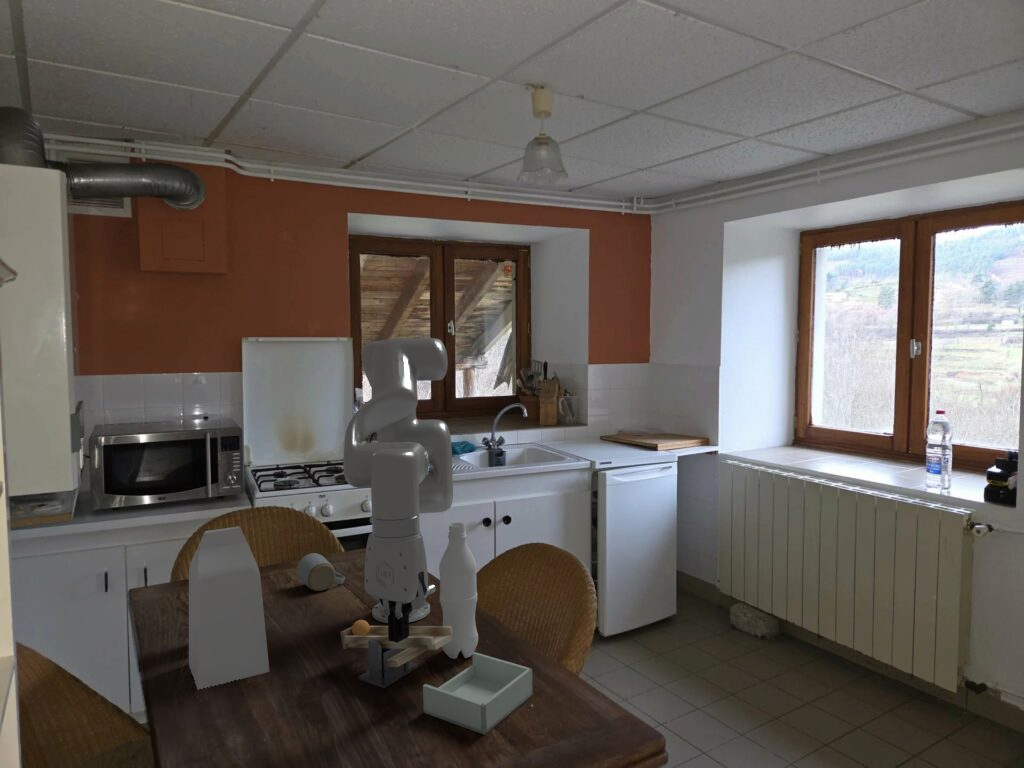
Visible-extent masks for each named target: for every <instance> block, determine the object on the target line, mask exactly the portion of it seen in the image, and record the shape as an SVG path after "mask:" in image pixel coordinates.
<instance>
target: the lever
mask: <svg viewBox="0 0 1024 768" xmlns="http://www.w3.org/2000/svg"><path fill="white" fill-rule="evenodd" d="M352 627H353V625H352V626H351V627H348V628H346V629H344V630H342V631H340V637H341V644H342V649H344V650H345V649H349V648H361V649H362V648H363V649H364V648H366V649H369V648H368V641H369V640H371V639H372V640H375V641H379V642H381V648H389V649H405V650H404V651H402V652H400V653H398V654H397V655H395V656H393V657H391V658H389V659H388V660H386V662H387V667H399V666H401V665H402V664H404V663H406V662H408V661H411V660H412V659H414V658H417V657H418V656H419V655H421V654H423V653H424V652H426V651H428V650H429V651H431V650H432V651H436V650H438V649H439V648H442V646H443V645H445V644H447V643H448V642H450V641H452V637H451V634H453V629H452V626H443V625H442V626H441V625H409V637H408V638H406V639H404V640H402V641H400V642H398V643H395V642H394V641H389V640H388V625H369V627H370V630H369V633H368V634H367V636H356V635H353V633H352Z"/></svg>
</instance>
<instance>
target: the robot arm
mask: <svg viewBox="0 0 1024 768" xmlns="http://www.w3.org/2000/svg"><path fill="white" fill-rule="evenodd" d="M361 362H362V367H363V370H364V374H365V377H366V379H367V381H368V384H369V385H370V388H371V398H370V399H369V400H368V401H366V402H365V403H364V404H363V405H361V407H360V408H359V409H358V410H357V411H356V412H355V413H354V415H353V417H351V419H350V420H349V423H348V425H347V426H346V431H345V434H344V443H343V444H344V445H343V461H342V466H343V467H342V468H343V475H344V478H345V480H346V483H348V485H350V486H352V487H353V488H358V489H367V488H368V489H369V488H370V497H371V499H370V500H371V503H370V504H371V516H370V517H369V523H370V524H371V533H369V534H368V538H367V542H366V547H365V548H366V550H365V556H364V557H365V559H364V589H365V590H364V591H365V592H366V594H368V595H370V597H371V598H372V599H375V600H376V601H378V603H377V604H375V605H374V607H372V610H371V611H372V612H371V614H372V615H371V616H372V617H373V619H374V620H375V621H377V622H380V623H384V624H387V626H388V640H389V641H394V642H395V643H398V642H400V641H402V640H404V639H406V638H408V637H409V626H410V623H413V622H417V621H420V620H422V619H425V618H426V617H427V616H428V615H429V614H430V612H431V605H430V603H429V602H428V601H426V598H427V597H428V596H430V595H431V594H434V593H435V592H436V591H437V589H436V586H435V585H434V584H431V583H430V584H429V575H428V574H429V573H428V572H429V571H428V561H427V554H426V553H427V552H426V547H425V542H424V538H423V535H422V533H421V529H420V525H421V523H420V514H436V513H443V512H446V511H448V510H449V509H451V507H452V505H453V500H454V481H453V480H454V479H453V476H454V475H453V453H452V452H453V450H452V439H451V438H452V436H451V431H450V429H449V426H448V425H447V423H446V422H445V421H443V420H441V419H418V418H417V407H418V404H419V403H418V402H419V401H418V397H419V396H418V381H419V382H420V381H421V382H422V381H423V382H424V381H442V380H443V379H445V376H446V374H447V371H448V362H449V361H448V353H447V349H446V347H445V344H444V343H443V341H442V340H441V339H439V338H435V337H413V338H412V337H410V338H409V337H405V338H403V337H402V338H397V337H396V338H389V339H383V340H376V341H372V342H368V343H367V344H365V345H364V346H363V349H362V351H361ZM374 433H377V434H376V436H377V439H376V440H377V441H376V442H367V443H366V442H365V443H364V441H365V440H366V438H367V437H369V436H371V435H372V434H374ZM430 466H431V467H432V468H430Z"/></svg>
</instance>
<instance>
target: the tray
mask: <svg viewBox="0 0 1024 768" xmlns="http://www.w3.org/2000/svg"><path fill="white" fill-rule="evenodd" d="M533 695H534V692H533V668H532V667H528V666H523V665H522V664H516V663H514V662H510V661H507V660H503V659H499V658H496V657H492V656H490V655H486V654H482V653H479V652H475V651H474V653H473V654H472V664H471V665H470V666H468V667H467V668H465V669H464V670H462V671H461V672H459V673H458V674H456V675H455V676H453V677H452V678H451V679H449V680H447V681H446V682H444V683H443V684H442V685H440V686H439V687H435V686H434V685H429V684H427V683H425V684H423V685H422V700H423V702H422V703H423V714H427V715H429V716H432V717H434V718H438V719H440V720H443V721H446V722H448V723H451V724H454V725H456V726H459V727H462V728H464V729H467V730H470V731H473V732H475V733H478V734H480V735H481V734H482V735H484V736H485V735H486V734H487V733H489V732H490V731H491V730H492V729H494V728H495V727H496V726H497V725H498V724H499V723H501V722H502V721H504V719H505V718H507V717H508V716H509V715H510V714H512V713H513V712H514V711H515V710H516V709H518V708H519V707H520V706H521V705H522V704H523V703H524V702H525V701H527V700H528V699H529V698H530V697H532V696H533Z"/></svg>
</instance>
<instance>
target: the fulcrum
mask: <svg viewBox="0 0 1024 768" xmlns="http://www.w3.org/2000/svg"><path fill="white" fill-rule="evenodd" d="M367 649H368V670H367V671H366V672H364V673H362V674H360V675H359V676H358V678H359V679H358V680H360V681H363V682H366V683H368V684H370V685H373V686H377V687H378V688H379V687H380V688H382V689H385V688H387V687H388V686H390V685H392V684H393V683H395V682H397V681H399V680H400V679H402V678H404V677H405V676H406V675H408V674H410V673H411V672H413V671H415V670H416V669H418V668H419V663H417V662H413V661H411V660H409V661H408V662H406V663H404V664H402V665H401V666H399V667H387V662H386V660H388V659H389V658H391V657H393V656H395V655H397V654H398V653H400V652H402V651H404V650H405V649H389V648H381V642H379V641H375V640H372V639H371V640H369V641H368V648H367Z"/></svg>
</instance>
